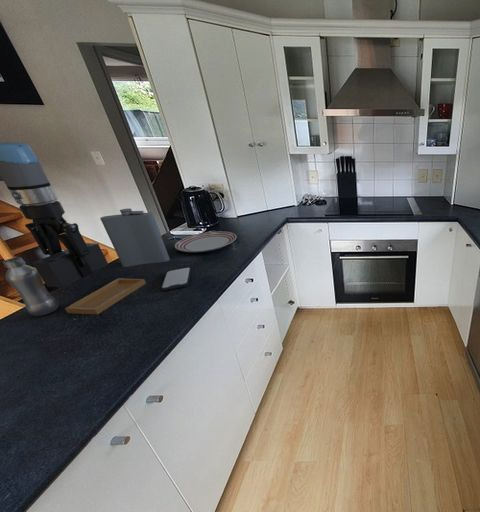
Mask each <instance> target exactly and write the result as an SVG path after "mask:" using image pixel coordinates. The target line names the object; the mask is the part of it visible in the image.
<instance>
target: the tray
mask: <svg viewBox="0 0 480 512" xmlns="http://www.w3.org/2000/svg"><path fill="white" fill-rule="evenodd" d="M146 284H147V282H146V280H145V278H125V277H123V278H122V277H119V278H116V279H114V280H113V281H111V282H109V283H107V284H105V285H104V286H102V287H101V288H98V289H97V290H95V291H93V292H91V293H90V294H88V295H86V296H84V297H83V298H81V299H79V300H77V301H75V302H73V303H72V304H70V305H68V306H66V307H65V308H64V310H65V311H66V313H67V314H81V315H100V314H101V313H103V312H104V311H106V310H107V309H108V308H110V307H112V306H113V305H115V304H116V303H118V302H120V301H121V300H123V299H124V298H126V297H127V296H129V295H130V294H132V293H133V292H135V291H136V290H139V289H140V288H142V287H143V286H144V285H146Z"/></svg>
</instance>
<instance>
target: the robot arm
mask: <svg viewBox="0 0 480 512" xmlns="http://www.w3.org/2000/svg"><path fill="white" fill-rule="evenodd" d="M0 182H4V184H5V186H6V188H7V189H8V190H9V192H10V194H11V197H12V198H13V199H14V200H15V203H16V204H18V205H19V210H20V211H21V213H22V216H24V218H25V219H26V220H32V222H30V223H29V222H28V223H26V224H24V226H25V228H26V229H27V230H28V231H29V232H30V234H31V235H32V237H33V238H34V240H35V242H36V243H37V245H38V247H39V249H40V250H41V253H42V254H43V255H45V256H51V255H54V254H56V253H59V252H62V251H63V249H62V246H61V243H62V245H63V246H64V247H65V248H66V250H67V249H68V251H69V252H70V253H71V254H72V256H73V257H72V258H71V259H72V260H73V262H74V264H75V265H76V267H77V269H78V271H79V273H80V274H81V276H82V277H83V278H86V277H88V276H90V275H93V274H94V272H92V270H91V268H90V266H89V263H88V261H87V259H86V257H85V255H86V254H89V253H90V251H89V249H88V247H87V245H86V243H87V242H86V241H85V240H84V238H83V235H82V234H81V232H80V229H79V224H78V223H77V222H74V223H70V222H68V221H67V220H66V219H65V218H64V217H63V215H64V214H65V213H66V211H65V210H64V207H63V205H62V203H61V201H58V199H59V197H58V196H57V193H56V192H55V190H54V188H53V185H51V183H50V180H49V178H48V176H47V175H46V172H45V171H44V169H43V166H42V165H41V162H40V159H39V158H38V157H37V156H36V154H35V152H34V150H33V149H32V147H31V146H30V145H29V144H27V143H24V142H0Z"/></svg>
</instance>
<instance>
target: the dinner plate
mask: <svg viewBox="0 0 480 512" xmlns="http://www.w3.org/2000/svg"><path fill="white" fill-rule="evenodd" d="M237 237H238V236H237V234H235V232H231V231H207V232H201V233H195V234H193V235H189V236H186V237H184V238H182V239H179V241H177V242H175V244H174V248H175V249H176V250H178V251H180V252H184V253H197V254H198V253H207V252H213V251H216V250H220V249H222V248H224V247H226V246H228V245H231V244H232V243H233V242H234V241H236V240H237Z"/></svg>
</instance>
